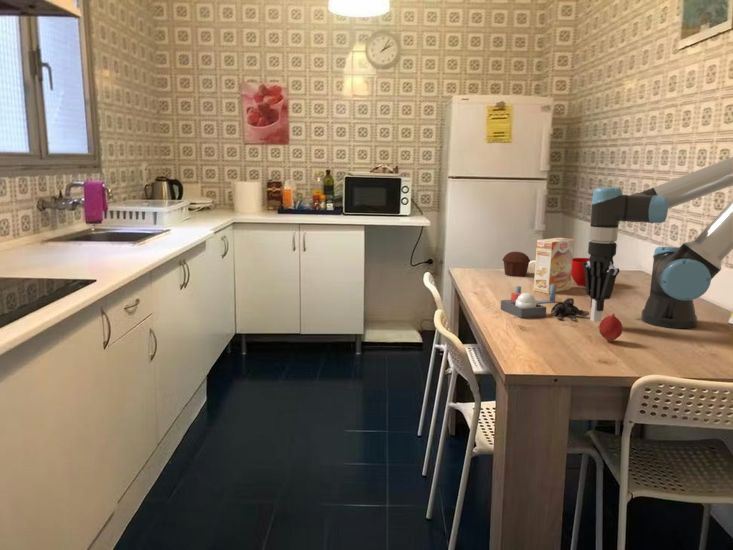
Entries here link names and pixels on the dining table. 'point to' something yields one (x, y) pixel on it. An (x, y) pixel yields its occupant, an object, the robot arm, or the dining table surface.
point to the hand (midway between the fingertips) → (595, 320)
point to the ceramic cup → (579, 271)
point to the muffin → (516, 264)
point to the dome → (526, 300)
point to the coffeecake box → (553, 264)
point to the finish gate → (552, 300)
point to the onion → (610, 328)
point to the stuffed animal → (567, 310)
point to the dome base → (522, 312)
